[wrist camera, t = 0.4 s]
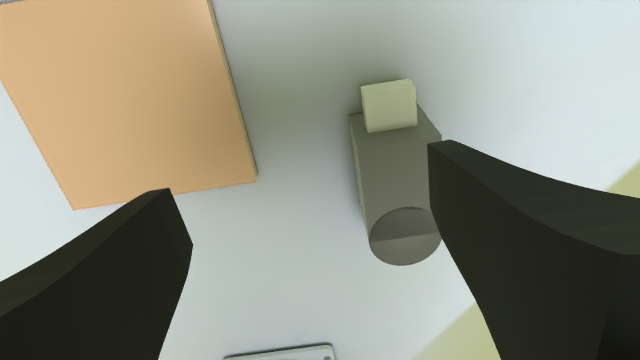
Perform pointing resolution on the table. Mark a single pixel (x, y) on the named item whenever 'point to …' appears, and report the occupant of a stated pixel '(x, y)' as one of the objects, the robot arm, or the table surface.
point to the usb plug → (394, 172)
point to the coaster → (125, 96)
